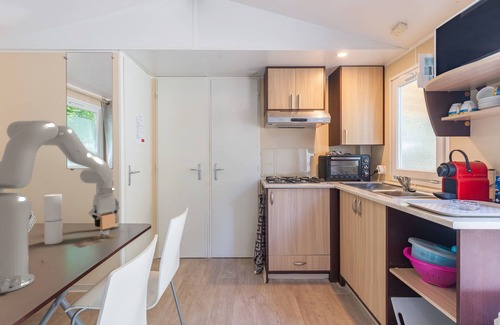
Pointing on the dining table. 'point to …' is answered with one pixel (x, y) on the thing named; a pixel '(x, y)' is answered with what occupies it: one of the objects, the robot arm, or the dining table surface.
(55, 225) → the cylindrical container
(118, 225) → the liquor
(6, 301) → the dining table surface
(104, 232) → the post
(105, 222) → the orange block
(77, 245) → the board
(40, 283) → the dining table surface
